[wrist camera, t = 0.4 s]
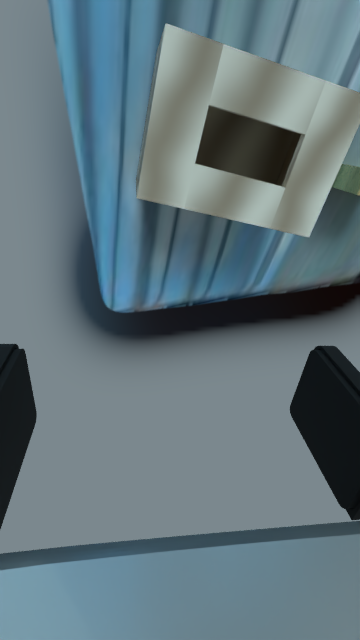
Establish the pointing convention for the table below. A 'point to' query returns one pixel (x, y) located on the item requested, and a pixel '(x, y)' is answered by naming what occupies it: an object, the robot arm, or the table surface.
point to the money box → (241, 135)
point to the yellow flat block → (348, 179)
